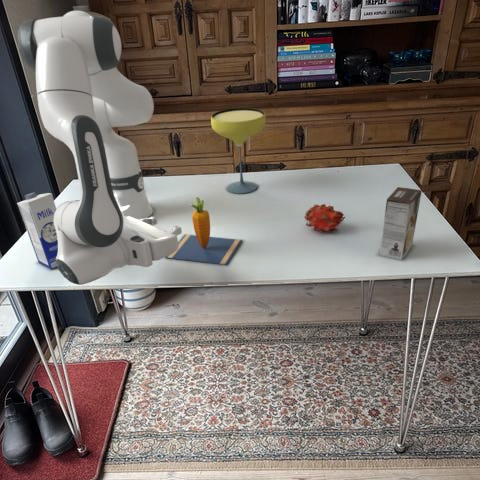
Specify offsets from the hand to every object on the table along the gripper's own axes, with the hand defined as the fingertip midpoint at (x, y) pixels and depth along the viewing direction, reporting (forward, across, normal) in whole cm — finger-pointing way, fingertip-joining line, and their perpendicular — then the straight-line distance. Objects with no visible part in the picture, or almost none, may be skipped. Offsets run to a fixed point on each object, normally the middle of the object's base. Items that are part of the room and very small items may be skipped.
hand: (167, 224), depth 122 cm
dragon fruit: (+42, +20, -13) cm, 48 cm away
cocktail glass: (+52, -22, -13) cm, 58 cm away
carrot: (+12, 0, -12) cm, 17 cm away
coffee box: (+43, +43, -13) cm, 62 cm away
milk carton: (-19, -30, -13) cm, 38 cm away
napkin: (+12, 0, -12) cm, 17 cm away
